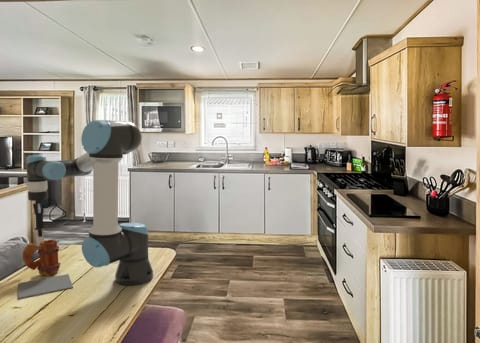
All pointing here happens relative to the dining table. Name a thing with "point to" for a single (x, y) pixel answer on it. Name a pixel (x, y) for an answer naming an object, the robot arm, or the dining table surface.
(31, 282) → the mat
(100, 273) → the dining table surface
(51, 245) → the orange hollow piece
